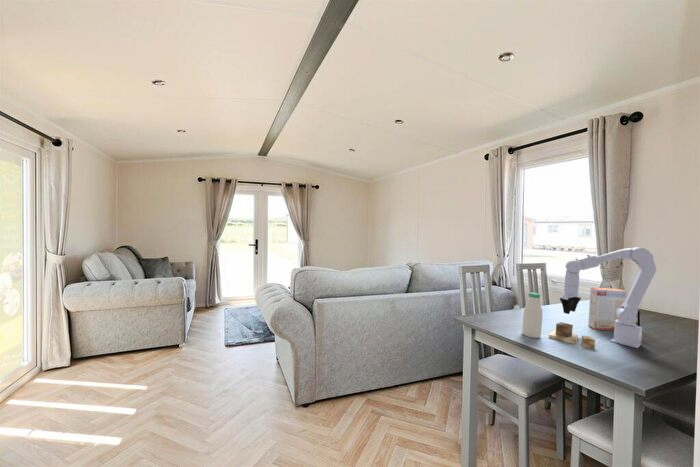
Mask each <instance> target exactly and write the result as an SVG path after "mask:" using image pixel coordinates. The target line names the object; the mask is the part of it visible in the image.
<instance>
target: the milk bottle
mask: <svg viewBox="0 0 700 467" xmlns="http://www.w3.org/2000/svg"><path fill="white" fill-rule="evenodd" d="M540 298H541V294H540V293H538V292H529V293H528V299H527V303H526V304H525V306H524V309H523V316H522V329H521V330H522V331H521V332H522V335H523V336H525V337H528V338H532V339H541V336H542V329H543V328H542V324H543V309H542V305H541V304H540V300H541V299H540Z"/></svg>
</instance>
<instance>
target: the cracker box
mask: <svg viewBox="0 0 700 467" xmlns="http://www.w3.org/2000/svg"><path fill="white" fill-rule="evenodd" d="M589 294H590V295H589V308H588V310H589V311H588V322H587V323H588V324H587V326H588V327H590V328H592V329H594V330H601V331H613V332H614V328H615V320H617V318H618V317H617V316H616V313H615V312H616V310H617V309H618V308H619V307H621V305H622V303H623V302H624V301H625V300H626V298H627V290H623V289H620V288H607V287H606V288H605V287H590V293H589Z"/></svg>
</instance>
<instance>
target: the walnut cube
mask: <svg viewBox="0 0 700 467" xmlns="http://www.w3.org/2000/svg"><path fill="white" fill-rule="evenodd" d="M573 326H574V325H573V324H570V323H568V322H567V323H566V322H562V321H560V322H557V323H555V330H556V335H560V336H563V337H567V338H568V337H570V336H572V334H573Z"/></svg>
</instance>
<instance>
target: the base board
mask: <svg viewBox="0 0 700 467" xmlns="http://www.w3.org/2000/svg"><path fill="white" fill-rule="evenodd" d="M548 339H553V340H556V341H561V342H565V343H567V344H568V343H569V344H573V345H576V343H577V340H578V339H579V335H578V334H574V333H572V336H570V337H568V338H567V337H563V336H560V335H556V329H552V331H551V332H550V333H549V334H548Z"/></svg>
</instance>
